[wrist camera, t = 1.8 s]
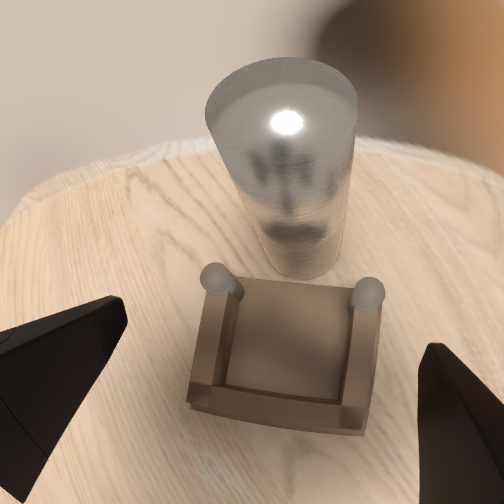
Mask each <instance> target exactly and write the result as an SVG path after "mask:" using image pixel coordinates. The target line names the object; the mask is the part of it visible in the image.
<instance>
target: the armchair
mask: <svg viewBox="0 0 504 504" xmlns="http://www.w3.org/2000/svg"><path fill="white" fill-rule="evenodd" d="M200 281H201V284H202V286H203V287H204V288H205V289H206V290H207V292H206V297H205V302H204V307H203V312H202V317H201V322H200V327H199V333H198V338H197V343H196V349H195V354H194V360H193V365H192V371H191V376H190V382H189V388H188V394H187V400H186V402H188V403H191V407H190V409H193V410H197V411H201V412H205V413H209V414H213V415H217V416H222V417H226V418H231V419H235V420H240V421H245V422H250V423H256V424H261V425H267V426H273V427H279V428H286V429H293V430H300V431H308V432H317V433H327V434H339V435H353V436H364V434H365V429H366V423H367V418H368V413H369V407H370V401H371V395H372V389H373V382H374V375H375V368H376V360H377V352H378V343H379V333H380V322H381V309H382V302H383V300H384V298H385V288H384V286H383V284H382V283H381V282H380V281H379V280H378V279H376V278H373V277H366V278H363V279H361V280H360V281H359V282H358V283H357V284H356V286H355V288H342V287H331V286H321V285H310V284H300V283H290V282H280V281H271V280H261V279H252V278H243V277H234V276H233V275H232V273H231V272H230V271H229V270H228V269H227V268H226V267H225V266H224V265H223V264H221V263H211V264H208V265H207V266H206V267H205V268H204V269H203V270H202V272H201V275H200Z"/></svg>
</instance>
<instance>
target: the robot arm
mask: <svg viewBox="0 0 504 504" xmlns="http://www.w3.org/2000/svg"><path fill="white" fill-rule="evenodd" d="M127 323H128V319H127V314H126V311H125V306H124V302H123V300H122V299H121V298H120V297H116V296H112V295H110V296H106V297H103V298H100V299H97V300H94V301H91V302H88V303H85V304H82V305H79V306H76V307H73V308H70V309H68V310H65V311H62V312H59V313H56V314H53V315H50V316H47V317H44V318H41V319H38V320H35V321H32V322H29V323H26V324H23V325H20V326H18V327H14V328H11V329H8V330H5V331H2V332H0V486H1V487H2V488H3V489H4V490H6V491H7V492H8V493H9V494H11V495H12V496H13V497H14V498H16V499H17V500H18V501H19V502H21V503H22V504H23V503H24V502H25V501H26V499H27V497H28V495H29V493H30V492H31V490H32V488H33V486H34V484H35V482H36V480H37V479H38V477H39V475H40V473H41V471H42V469H43V468H44V466H45V464H46V462H47V461H48V458H49V457H50V455H51V453H52V451H53V450H54V448H55V446H56V445H57V443H58V441H59V439H60V438H61V436H62V434H63V433H64V431H65V429H66V428H67V426H68V424H69V423H70V421H71V419H72V418H73V416H74V414H75V413H76V411H77V410H78V408H79V406H80V405H81V403H82V402H83V400H84V398H85V397H86V395H87V394H88V392H89V390H90V389H91V387H92V386H93V384H94V383H95V381H96V379H97V378H98V376H99V375H100V373H101V372H102V370H103V369H104V367H105V365H106V364H107V362H108V360H109V359H110V357H111V355H112V353H113V351H114V349H115V347H116V345H117V343H118V341H119V340H120V338H121V336H122V334H123V332H124V330H125V328H126V326H127ZM417 422H418V440H419V469H420V491H419V504H504V404H503V403H502V402H501V401H500V400H499V399H498V398H497V397H496V396H495V395H494V394H493V393H492V392H491V391H490V390H489V388H488V387H487V386H486V385H485V384H484V383H483V382H482V381H481V380H480V379H479V378H478V377H477V376H476V375H475V374H474V373H473V372H472V371H471V370H470V369H469V368H468V367H467V366H466V365H465V364H464V363H463V362H462V361H461V360H460V359H459V358H458V357H457V356H456V355H455V354H454V353H453V352H452V351H451V350H450V349H449V348H448V347H447V346H446V345H444V344H443V343H433V342H431V343H429V344H428V346H427V348H426V350H425V353H424V355H423V358H422V360H421V363H420V365H419V369H418V417H417Z"/></svg>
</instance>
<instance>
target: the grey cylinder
mask: <svg viewBox="0 0 504 504" xmlns="http://www.w3.org/2000/svg"><path fill="white" fill-rule="evenodd" d="M357 104H358V102H357V95H356V92H355V90H354V88H353V86H352V84H351V83H350V82H349V80H348V79H347V78H346V77H345V76H344V75H343V74H341V73H340V72H339V71H337V70H336V69H334V68H332V67H330V66H328V65H326V64H324V63H321V62H318V61H314V60H311V59H305V58H296V57H282V58H272V59H267V60H262V61H258V62H255V63H252V64H250V65H247V66H244V67H242V68H240V69H239V70H237V71H235V72H233V73H232V74H230V75H229V76H228V77H226V78H225V79H224V80H223V81H221V83H219V84H218V85H217V87H216V88H215V89H214V90H213V92H212V93H211V95H210V97H209V99H208V101H207V105H206V108H205V120H206V124H207V126H208V129H209V131H210V133H211V135H212V137H213V140H214V142H215V144H216V146H217V148H218V150H219V152H220V155H221V157H222V159H223V161H224V163H225V165H226V168H227V170H228V172H229V174H230V176H231V178H232V181H233V183H234V185H235V187H236V189H237V191H238V194H239V196H240V198H241V200H242V202H243V205H244V207H245V209H246V211H247V213H248V216H249V218H250V220H251V222H252V224H253V226H254V229H255V231H256V233H257V235H258V237H259V240H260V242H261V244H262V246H263V249H264V251H265V253H266V255H267V257H268V259H269V261H270V263H271V265H272V266H273V267H274V268H275V269H276V270H277V271H278V272H279V273H280V274H282V275H284V276H286V277H288V278H291V279H295V280H310V279H314V278H317V277H319V276H321V275H323V274H325V273H326V272H327V271H328V270H330V269H331V267H332V266H333V265H334V264H335V262H336V260H337V258H338V256H339V252H340V247H341V241H342V235H343V229H344V222H345V216H346V209H347V202H348V194H349V187H350V179H351V170H352V161H353V152H354V142H355V131H356V119H357Z"/></svg>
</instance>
